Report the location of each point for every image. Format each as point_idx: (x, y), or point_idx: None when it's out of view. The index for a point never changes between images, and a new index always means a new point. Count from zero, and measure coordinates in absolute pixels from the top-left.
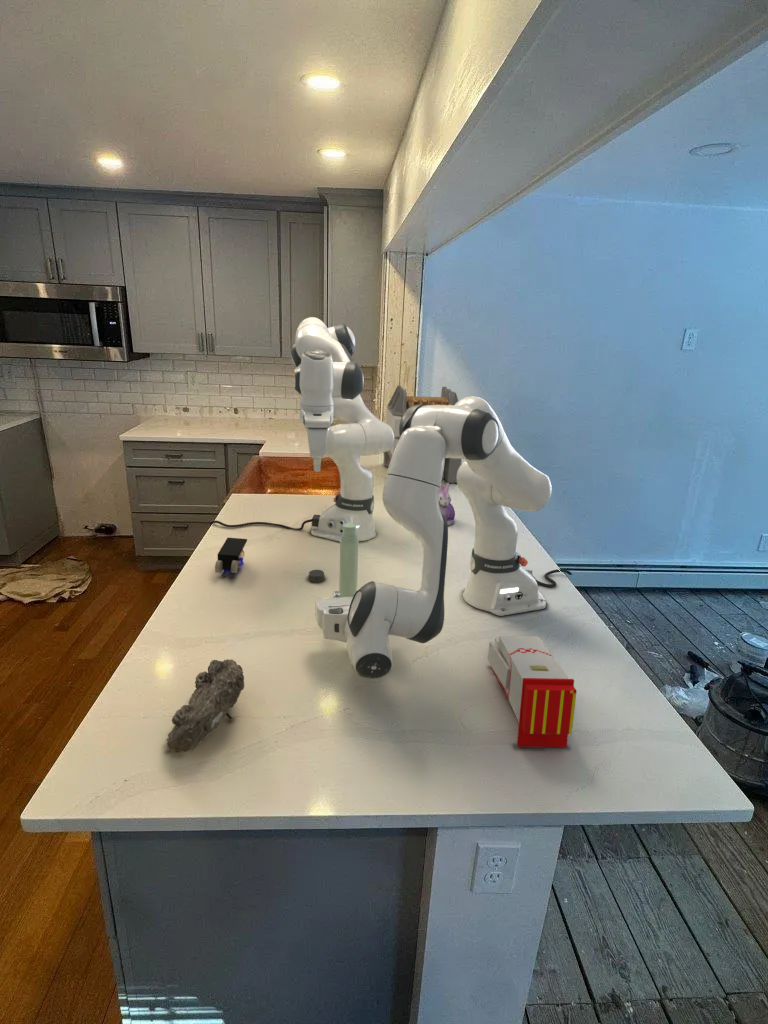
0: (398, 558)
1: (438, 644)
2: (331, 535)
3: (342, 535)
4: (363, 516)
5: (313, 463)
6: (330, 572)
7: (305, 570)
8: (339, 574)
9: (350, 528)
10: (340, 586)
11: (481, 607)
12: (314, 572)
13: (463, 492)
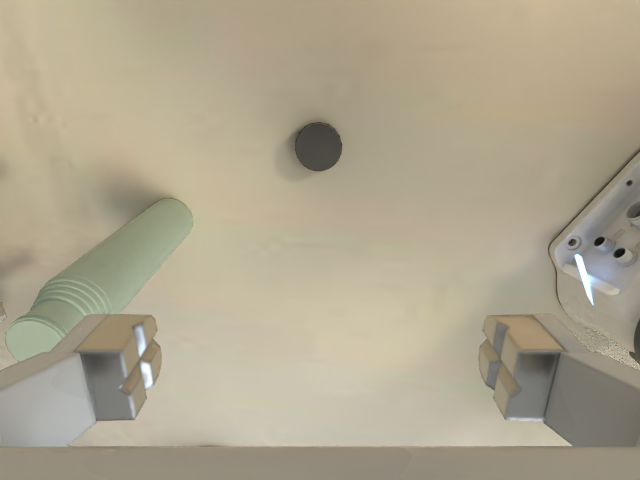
0: (425, 360)
1: None
2: (611, 204)
3: (48, 294)
4: (619, 331)
5: (16, 365)
6: (358, 186)
7: (378, 112)
8: (132, 226)
9: (8, 344)
10: (134, 218)
11: None
12: (322, 142)
13: None
